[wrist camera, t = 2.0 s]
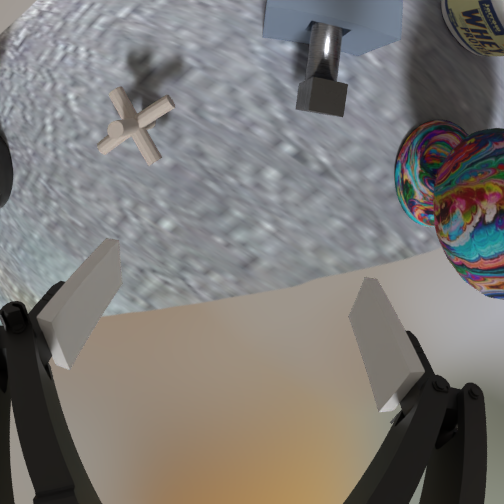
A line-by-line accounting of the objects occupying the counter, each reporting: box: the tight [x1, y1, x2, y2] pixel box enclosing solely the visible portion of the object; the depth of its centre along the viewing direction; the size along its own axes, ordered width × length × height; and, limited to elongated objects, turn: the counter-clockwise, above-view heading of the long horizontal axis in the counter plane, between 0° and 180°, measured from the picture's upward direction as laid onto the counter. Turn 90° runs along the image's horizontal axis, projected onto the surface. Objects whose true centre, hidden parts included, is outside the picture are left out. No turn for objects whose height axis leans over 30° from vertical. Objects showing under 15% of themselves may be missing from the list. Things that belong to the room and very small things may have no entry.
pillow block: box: [263, 0, 403, 56], centre depth 21 cm, size 12×8×12 cm, turn 84°
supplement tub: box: [441, 0, 504, 57], centre depth 15 cm, size 12×12×17 cm
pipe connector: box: [97, 86, 175, 166], centre depth 28 cm, size 10×10×10 cm
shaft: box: [296, 21, 348, 117], centre depth 20 cm, size 3×23×8 cm, turn 174°
